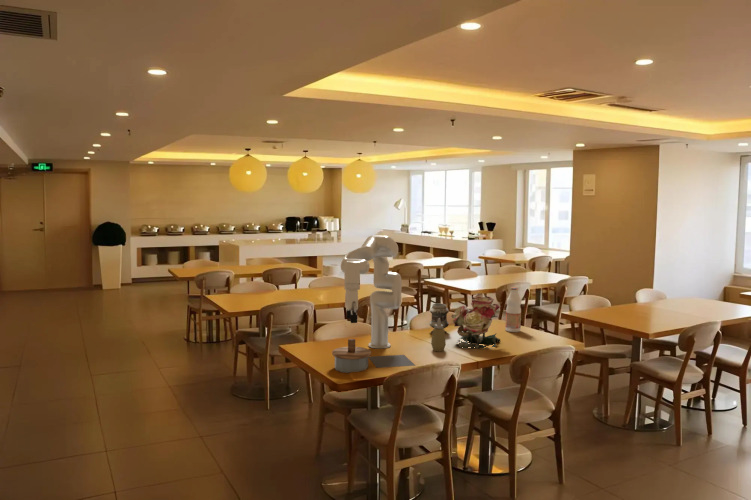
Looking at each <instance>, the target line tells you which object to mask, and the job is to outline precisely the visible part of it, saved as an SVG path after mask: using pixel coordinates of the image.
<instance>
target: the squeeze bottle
mask: <svg viewBox="0 0 751 500" xmlns="http://www.w3.org/2000/svg"><path fill="white" fill-rule="evenodd" d="M432 331H433V333H431V335H432V336H431V337H432V338H431V348H432V350H433V351H435V352H444V351H445V348H446V342H447V341H446V334H445V331H446V330H445V328H444V329H443V325H442V324H441V320H440V318H438V321H437V324H435V328H433V329H432Z"/></svg>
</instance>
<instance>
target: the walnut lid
mask: <svg viewBox="0 0 751 500" xmlns="http://www.w3.org/2000/svg"><path fill="white" fill-rule="evenodd" d="M371 355H372V350H370V349H368V348H365V347H360V346H356V339H354V338H348V339H347V346H342V347H337V348H334V349H332V356H333V357H334V358H335V357H337V358H341V359H363V358H367V357H371Z"/></svg>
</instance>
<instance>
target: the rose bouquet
mask: <svg viewBox="0 0 751 500" xmlns="http://www.w3.org/2000/svg"><path fill="white" fill-rule="evenodd" d="M494 300H495V299H494V298H493V297H491V296H488V295H484V294H483V293H478V292H477V293H476V294H473V296H472V299H471V303H470V305H471V306H472V309H471V310H470V309H469V308H468V307H467V305H466V304H464V305H460V306H459V307H457V308H455V311H453V312H454V314H451V318H452V319H453V320H452V323H453V324H454V327H457V332H456V333H457V335H458V336H460V338H459V339H463V340H464V341H466V342H462V341H461V343H459V344H456V345H458V346H459V347H460V349H464V348H468V347H471V348H474V347H475V348H474V349H473V350H475V349H480V348H484V347H486V346H483V345H479V344H487V345H493V344H494V345H493V346H492V347H497V343H496V342H501V339H500V338H499V337H498V336H496V335H497V333H495V334H491V335H487V336H486V333H488V332H489V328H490V326H491V325H492V323H493V319H494V318H499V315H496V314H497V312H498V311H497V310H499V309H500V308H501V306H500V305H499V304H497V303H494ZM459 339H458V340H459ZM467 341H469V343H470V342H471V344H468V343H467ZM458 342H460V340H459V341H458ZM472 343H476V344H477V345H474V344H472ZM462 347H463V348H462Z"/></svg>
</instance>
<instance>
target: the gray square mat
mask: <svg viewBox="0 0 751 500" xmlns="http://www.w3.org/2000/svg"><path fill="white" fill-rule="evenodd" d="M368 360H370V362H371V363H372V364H373V365H374V366H375V368H377V369H379V368H396V367H397V368H398V367H412V366H413V367H414V366H416V364H415V363H414V362H412V360H410V359H409V358H408V357H407V356H406V355H405V354H391V355H390V354H389V355H375V356H374V355H373V356H369V357H368Z"/></svg>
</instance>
